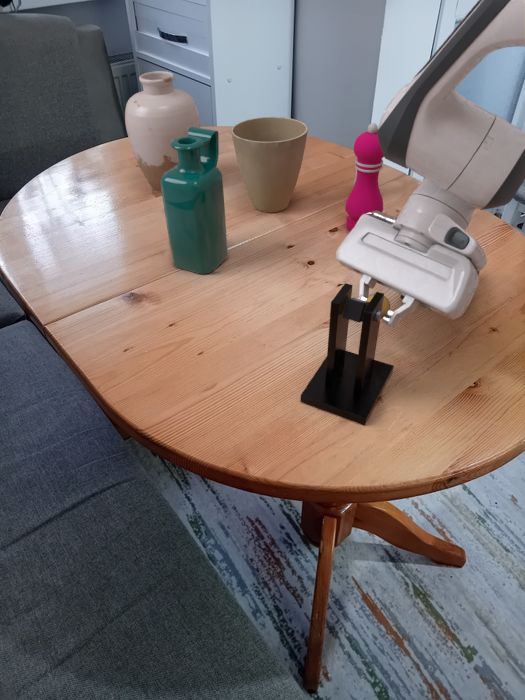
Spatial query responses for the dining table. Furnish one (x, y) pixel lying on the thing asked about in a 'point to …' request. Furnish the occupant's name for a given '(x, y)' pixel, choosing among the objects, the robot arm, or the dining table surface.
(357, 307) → the lever
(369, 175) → the pepper mill
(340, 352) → the stand
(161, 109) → the vase
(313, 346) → the dining table surface
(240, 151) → the plant pot
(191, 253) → the pitcher
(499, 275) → the dining table surface
